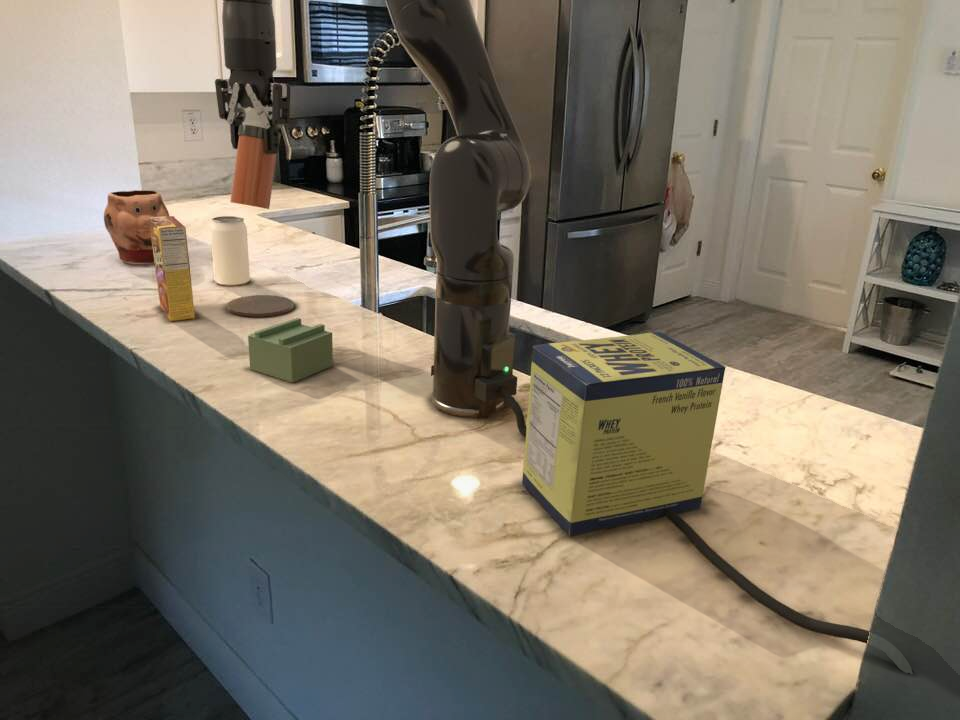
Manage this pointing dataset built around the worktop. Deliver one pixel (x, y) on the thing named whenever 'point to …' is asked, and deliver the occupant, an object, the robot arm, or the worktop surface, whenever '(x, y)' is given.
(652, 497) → the protein box
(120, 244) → the decorative planter
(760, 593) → the robot arm
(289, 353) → the stand
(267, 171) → the jar
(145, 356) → the worktop surface
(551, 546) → the worktop surface
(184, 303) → the candy box
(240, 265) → the can
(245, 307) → the coaster
